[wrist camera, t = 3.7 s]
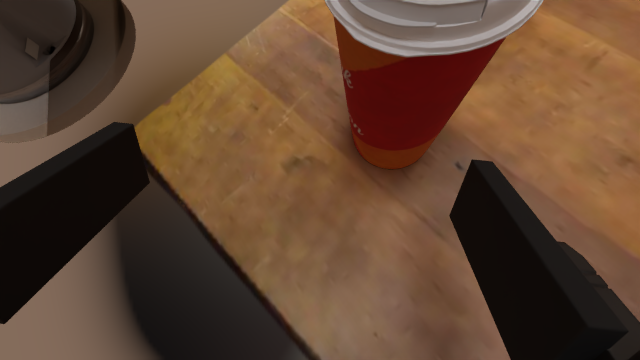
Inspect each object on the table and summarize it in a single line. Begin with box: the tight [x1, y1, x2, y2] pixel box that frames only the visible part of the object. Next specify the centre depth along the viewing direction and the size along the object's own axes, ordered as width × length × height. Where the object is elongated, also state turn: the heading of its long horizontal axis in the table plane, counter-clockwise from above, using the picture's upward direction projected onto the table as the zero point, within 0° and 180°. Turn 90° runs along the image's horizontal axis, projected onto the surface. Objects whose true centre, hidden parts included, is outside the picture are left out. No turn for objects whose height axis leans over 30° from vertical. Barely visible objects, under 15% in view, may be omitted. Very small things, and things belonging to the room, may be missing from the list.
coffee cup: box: [325, 0, 543, 169], centre depth 17 cm, size 8×8×15 cm
